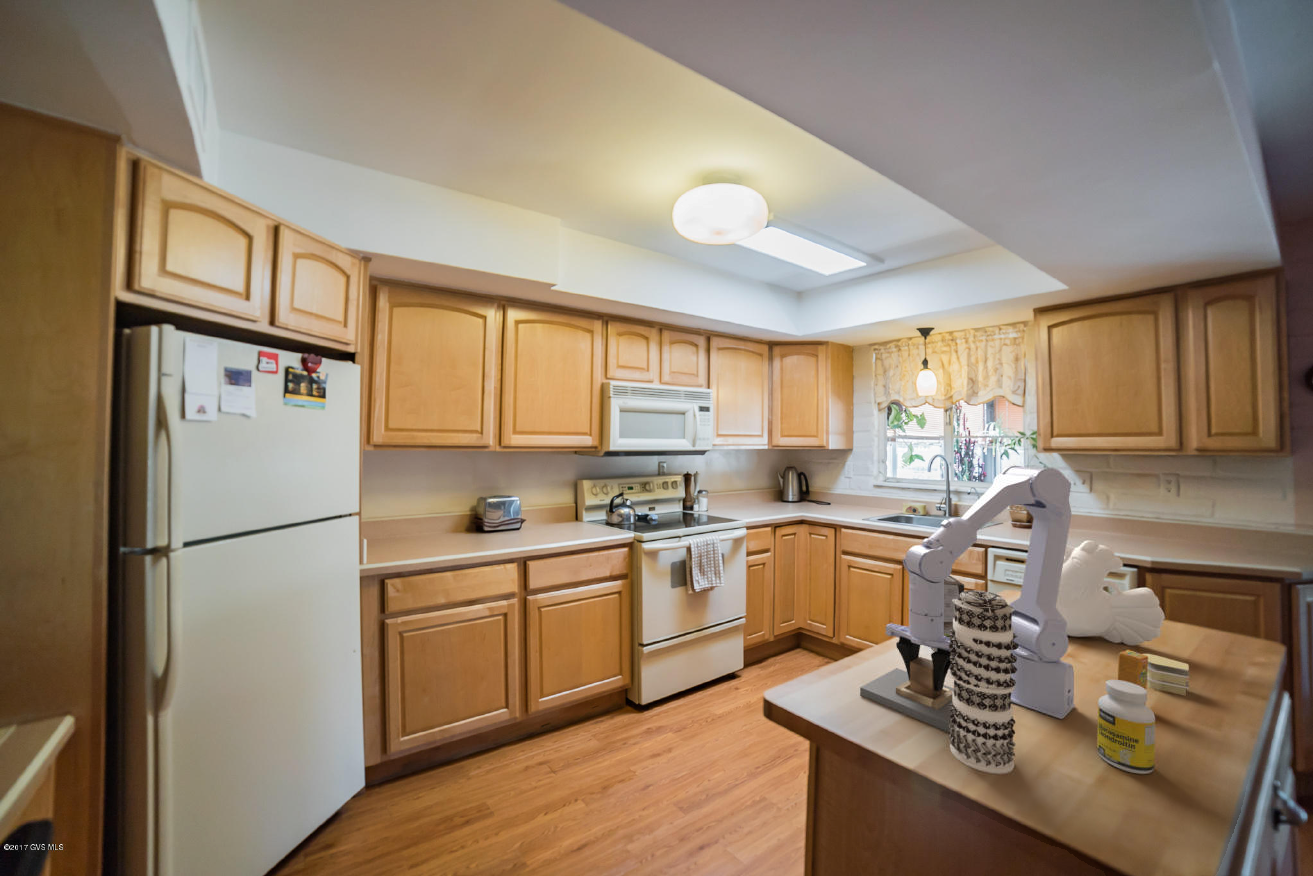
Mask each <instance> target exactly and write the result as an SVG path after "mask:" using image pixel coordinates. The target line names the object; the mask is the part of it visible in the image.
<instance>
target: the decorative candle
mask: <svg viewBox="0 0 1313 876" xmlns="http://www.w3.org/2000/svg"><path fill="white" fill-rule="evenodd" d="M952 601H953V603H954V604H955V608H954V613H955V617H954V618H953V630H951V631H950V634H949V635H948V637H949V638H950V643H949V644H948V646H949V648H950V652H952V653H951V656H950V657H949V660H950V661H951V665H950V666H949V670H950V676H951V679H953V688H954V691H953V692H952V704H950V708H951V712H952V713H951V714H950V718H951V722H952V723H951V724H950V725H949V729H950V733H949V735H948V739H949V741H950V744H949V749H950V752H951V754H952V755H953V756H954V758H955V759H956V760H957V761H959V762H961V763H962V764H964V765H965V766H967V767H970V768H972V769H975V770H977V771H980V772H985V773H989V774H993V775H994V774H995V775H996V774H998V775H1001V774H1002V775H1003V774H1008V773H1011V772H1012V771H1013V770H1014V768H1015V763H1014V759H1015V758H1014V757H1015V756H1016V754H1015V752H1014V750H1015V748H1014V747H1015V746H1016V743H1015V741H1013V740H1014V735H1015V734H1016V731H1015V730H1014V725H1015V724H1016V720H1015V719H1014V717H1013V709H1014V708H1013V706H1012V702H1011V692H1013V690H1014V689H1015V684H1016V682H1015V680H1014V679H1013V678H1011V675H1010V674H1013V673H1015V672H1016V671H1017V668H1016V667H1015V666H1014V665H1013V664H1012V663H1015V662H1016V661H1017V657H1016V656H1014V655H1013V654H1011V653H1010V651H1011V650H1012V651H1013V650H1016V649H1017V648H1018V647H1019V646H1018V644H1017V643H1015V642H1014V639H1016V638H1017V636H1016V635H1015V634H1014V633H1013V629H1012V612H1013V611H1014V609H1013V608H1012V607H1011V606H1009V604H1008V602H1007V601H1006V599H1005V598H1004V597H1002V596H1001V595H999V594H996V593H993V592H988V591H984V590H975V589H974V590H973V589H972V590H964V592H962V593H961V594H960V595H959V596H958V597H957V598H954V599H953V600H952ZM953 636H955V638H954V637H953ZM1012 639H1013V640H1012ZM953 645H954V647H953Z"/></svg>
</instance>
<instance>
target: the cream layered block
mask: <svg viewBox="0 0 1313 876" xmlns="http://www.w3.org/2000/svg"><path fill="white" fill-rule="evenodd" d="M1142 654H1143V655H1145V656H1147V657H1148V667H1147V687H1148V688H1150V689H1153V690H1156V691H1162V692H1163V691H1165V692H1169V693H1173V694H1176V695H1181V696H1184V697H1186V696H1187V690H1189V688H1190V685H1189V681H1188V680H1187V679H1189V678H1190V676H1189V669H1190V668H1189V664H1188V663H1186V662H1182V661H1178V660H1174V659H1172V658H1171V659H1170V658H1167V657H1163V656H1160V655H1156V654H1153V653H1152V654H1151V653H1142Z"/></svg>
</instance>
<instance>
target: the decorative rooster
mask: <svg viewBox="0 0 1313 876" xmlns="http://www.w3.org/2000/svg"><path fill="white" fill-rule="evenodd" d="M1123 566H1124V563H1123V561H1122V559H1121V558H1120V557H1119V556H1116V553H1115V552H1114V551H1113V549H1111V548H1109V547H1108V546H1106V545H1102V544H1098V542H1095V541H1093V540H1084V541H1083V542H1082V543H1081V544H1080V545H1079V546H1077V547H1075V546H1072V545H1068V544H1066V550H1065V556H1064V562H1063V568H1062V573H1061V579H1060V585H1059V591H1058V597H1057V603H1056V608H1057V610H1058V611H1059V612H1060V614H1061V615H1062V616H1063V618H1064V619H1065V621H1066V622H1067V627H1066V634H1067V636H1070V637H1080V638H1081V637H1102V638H1104V639H1105V640H1107V641H1109V642H1111V643H1113V644H1120V643H1123V644H1125V645H1126V646H1137V645H1140V644H1143V643H1145V642H1151V641H1152V640H1153V639H1158V638H1159V637H1160V636H1161V634H1162V629H1161V627H1163V625H1164V620H1165V619H1166V617H1165V613H1164V611H1163V609H1162V608H1161V606H1160V600H1159V598H1158V596H1157V595H1156V594H1155V593H1154V591H1153V589H1151V588H1148V587H1139V588H1132V589H1129V590H1124V591H1122V589H1121V587H1120V586H1119V585H1118V584H1117V583H1116V582H1113V581H1110V580H1105V578H1107V576H1108V574H1109V573H1111V572H1116V571H1119V570H1121V569H1122V568H1123ZM1105 587H1107V588H1108V587H1109V588H1111V589H1112V590H1113V591H1114V593H1112V594H1111V593H1109V592H1107V591H1106V590H1104V588H1105Z"/></svg>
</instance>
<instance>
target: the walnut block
mask: <svg viewBox="0 0 1313 876" xmlns="http://www.w3.org/2000/svg"><path fill="white" fill-rule="evenodd" d="M910 691H912V692H915V693H918V694H920V695H923V696H925V697H928V698H931V699H933V700H935V699H936V698H938V697H939V696H941V695H942V689H941V690H940V691H935V690H934V670H933V662H932V659H928V658H926V657H923V656H919V658H917V659H915V660H913V661H911V662H910Z"/></svg>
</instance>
